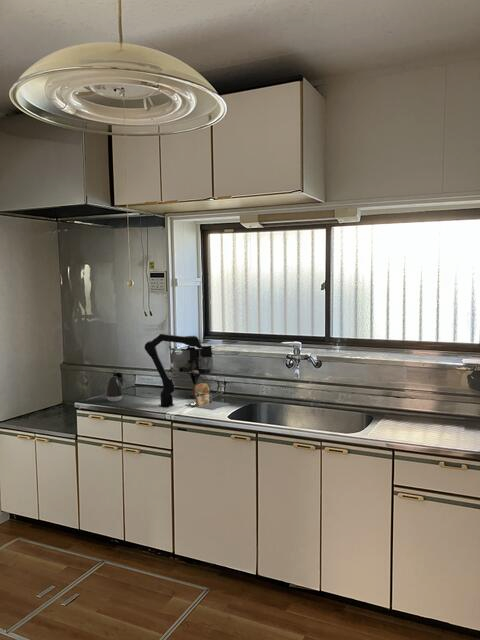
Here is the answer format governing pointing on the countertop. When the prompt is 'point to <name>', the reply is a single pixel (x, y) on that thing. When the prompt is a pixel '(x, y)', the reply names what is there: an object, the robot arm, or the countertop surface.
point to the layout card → (210, 405)
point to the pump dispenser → (114, 389)
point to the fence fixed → (205, 394)
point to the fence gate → (202, 400)
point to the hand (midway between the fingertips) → (194, 384)
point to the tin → (200, 389)
